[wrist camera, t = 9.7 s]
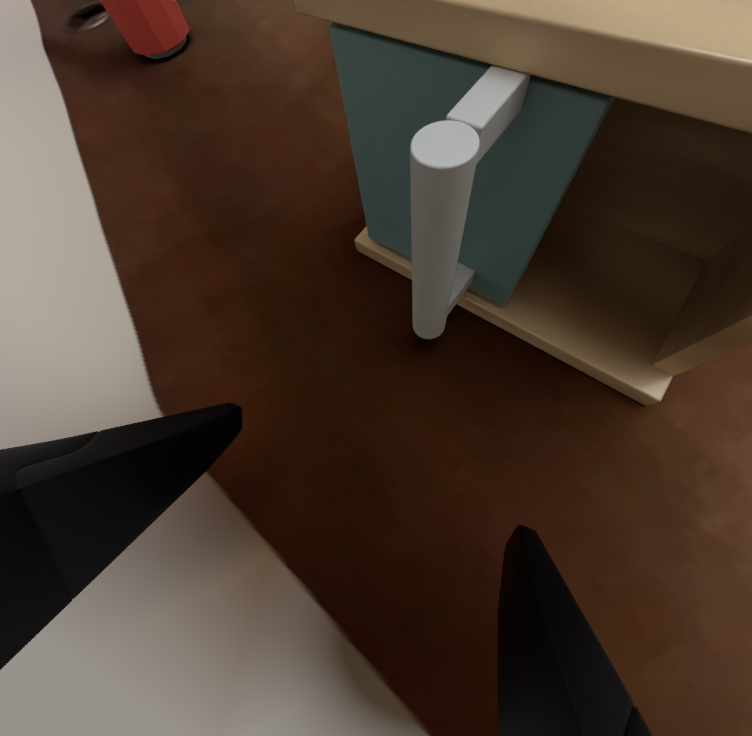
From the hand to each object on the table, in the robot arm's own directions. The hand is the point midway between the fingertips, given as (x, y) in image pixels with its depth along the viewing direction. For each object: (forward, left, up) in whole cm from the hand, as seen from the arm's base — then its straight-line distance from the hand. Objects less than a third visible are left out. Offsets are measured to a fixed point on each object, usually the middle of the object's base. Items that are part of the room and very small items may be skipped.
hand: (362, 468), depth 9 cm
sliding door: (+9, +4, -5) cm, 11 cm away
